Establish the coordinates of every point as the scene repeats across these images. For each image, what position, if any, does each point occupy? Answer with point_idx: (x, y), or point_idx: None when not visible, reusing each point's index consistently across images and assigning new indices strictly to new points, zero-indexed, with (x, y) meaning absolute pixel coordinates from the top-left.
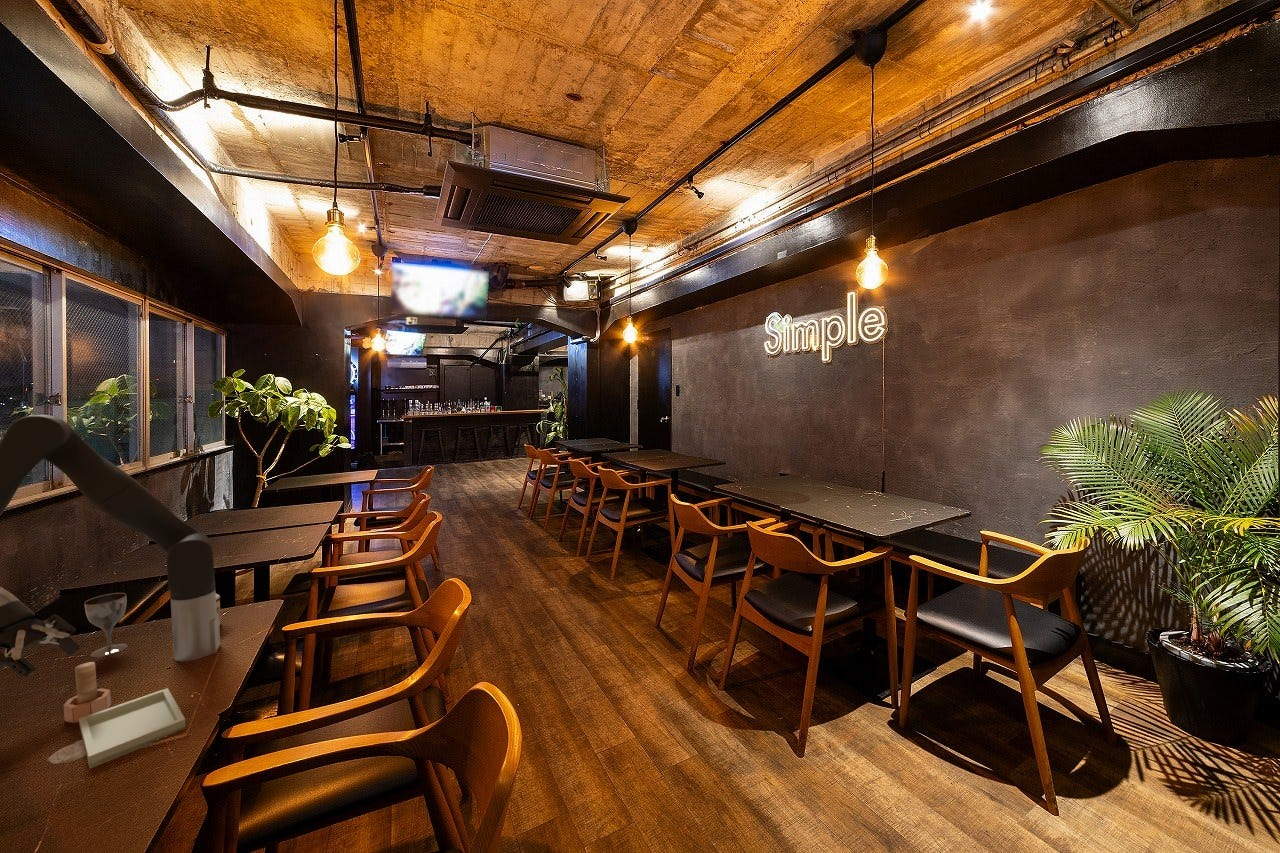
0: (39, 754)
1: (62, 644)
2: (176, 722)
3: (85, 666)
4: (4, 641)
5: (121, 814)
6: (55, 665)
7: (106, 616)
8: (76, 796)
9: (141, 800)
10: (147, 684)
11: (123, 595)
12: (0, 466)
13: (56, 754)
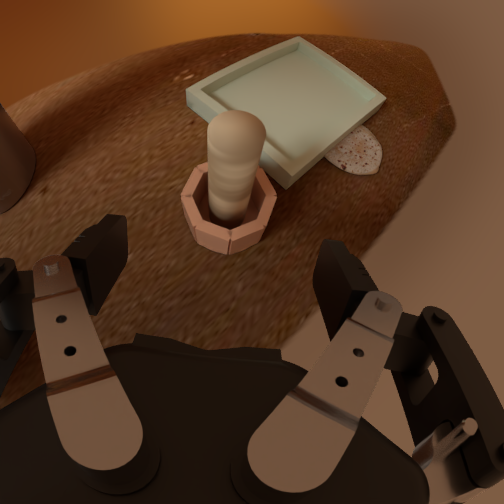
0: (358, 204)
1: (97, 282)
2: (306, 41)
3: (245, 124)
4: (405, 454)
5: (414, 64)
6: None
7: None
8: (412, 102)
9: (399, 56)
10: (108, 182)
11: None
12: None
13: (366, 165)
